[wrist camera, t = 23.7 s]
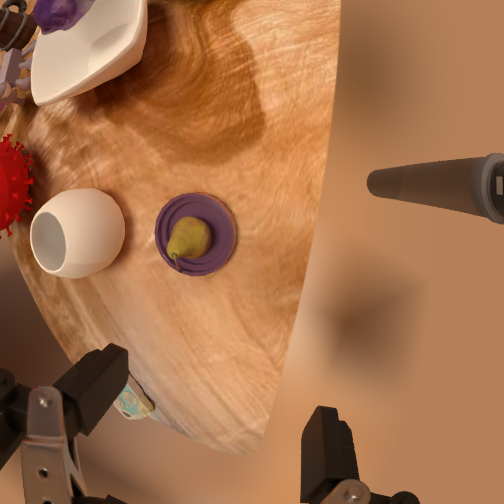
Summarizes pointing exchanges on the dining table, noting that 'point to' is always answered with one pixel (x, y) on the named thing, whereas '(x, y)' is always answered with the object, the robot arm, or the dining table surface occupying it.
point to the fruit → (189, 239)
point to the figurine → (59, 14)
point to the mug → (15, 26)
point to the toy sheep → (14, 75)
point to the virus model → (13, 183)
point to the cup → (77, 233)
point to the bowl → (89, 50)
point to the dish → (211, 214)
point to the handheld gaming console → (133, 401)
